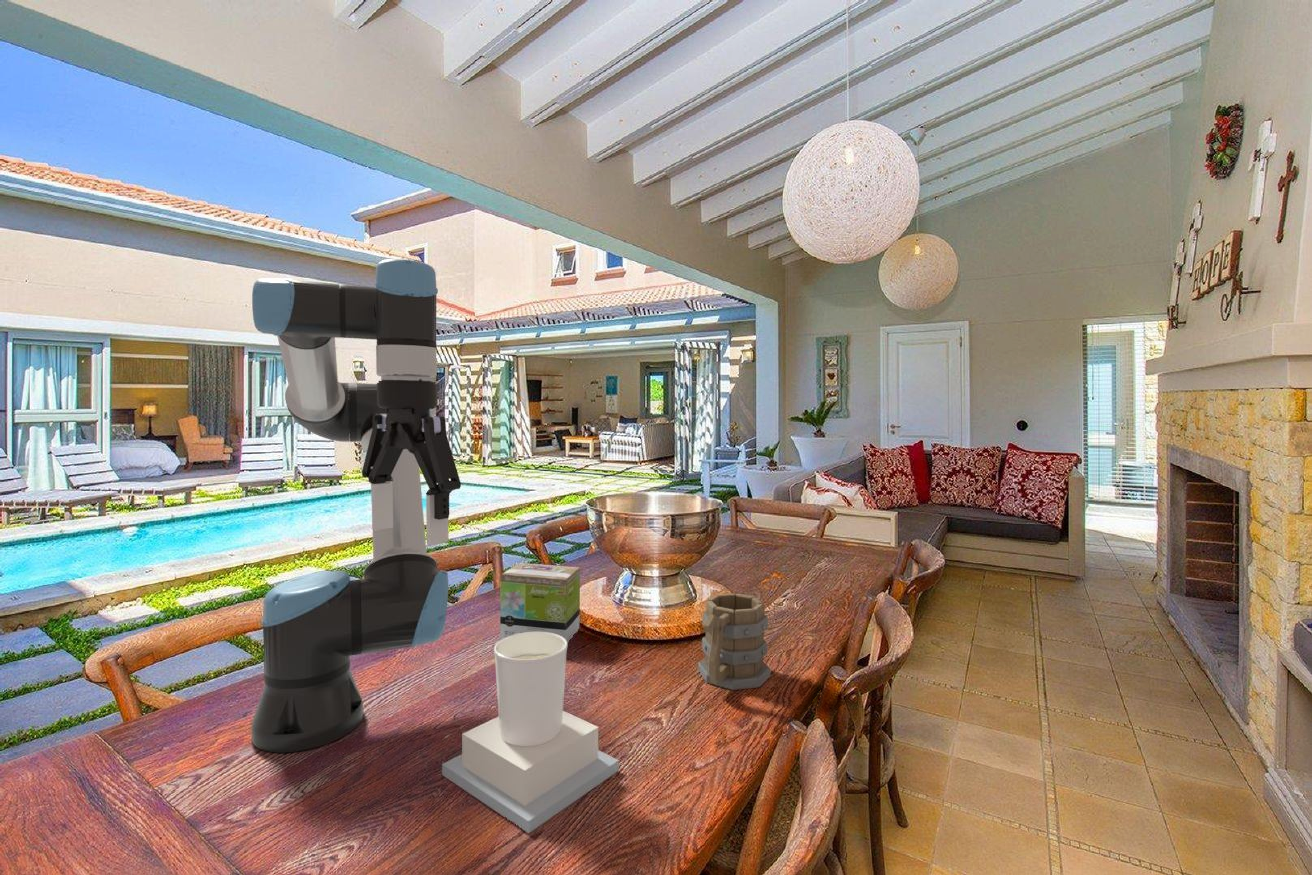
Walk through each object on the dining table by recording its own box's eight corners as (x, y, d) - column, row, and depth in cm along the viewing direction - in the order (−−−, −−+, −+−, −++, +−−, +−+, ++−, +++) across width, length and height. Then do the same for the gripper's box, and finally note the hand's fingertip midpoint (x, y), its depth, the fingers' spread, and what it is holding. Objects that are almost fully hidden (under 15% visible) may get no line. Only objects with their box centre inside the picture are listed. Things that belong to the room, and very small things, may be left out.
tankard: (717, 655, 124) (718, 582, 123) (777, 669, 118) (778, 593, 117) (669, 694, 107) (670, 610, 106) (735, 714, 101) (737, 625, 100)
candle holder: (535, 705, 90) (536, 626, 90) (581, 728, 84) (582, 643, 84) (479, 732, 83) (479, 646, 82) (525, 759, 77) (525, 666, 76)
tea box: (498, 641, 130) (498, 573, 129) (517, 624, 140) (517, 561, 139) (566, 647, 127) (566, 577, 126) (580, 630, 137) (581, 565, 136)
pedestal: (442, 774, 83) (441, 731, 83) (533, 726, 96) (533, 689, 95) (528, 833, 72) (528, 784, 72) (618, 770, 85) (619, 728, 84)
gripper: (488, 379, 77) (488, 544, 79) (385, 380, 92) (386, 519, 94) (436, 377, 71) (437, 556, 73) (334, 379, 86) (337, 527, 88)
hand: (408, 535), depth 83 cm, fingers open, 13 cm apart
